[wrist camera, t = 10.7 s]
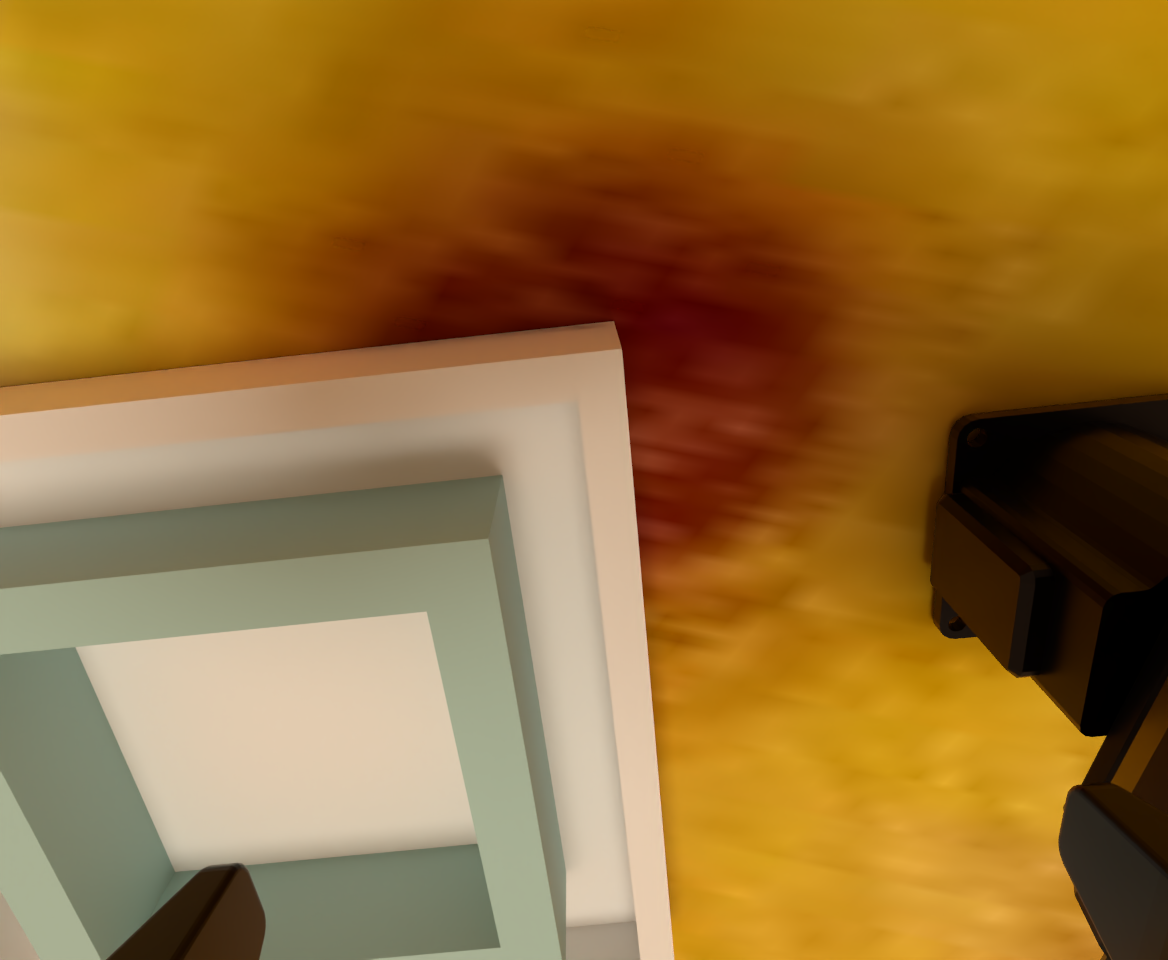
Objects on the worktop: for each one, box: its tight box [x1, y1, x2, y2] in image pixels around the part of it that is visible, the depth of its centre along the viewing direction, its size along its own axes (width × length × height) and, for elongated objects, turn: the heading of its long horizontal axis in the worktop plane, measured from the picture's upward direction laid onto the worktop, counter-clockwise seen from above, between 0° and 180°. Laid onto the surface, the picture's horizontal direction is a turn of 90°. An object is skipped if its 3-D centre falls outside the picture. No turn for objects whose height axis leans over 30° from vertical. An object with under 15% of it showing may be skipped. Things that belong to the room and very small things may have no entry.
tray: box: [0, 321, 674, 960], centre depth 21 cm, size 21×21×3 cm
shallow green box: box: [0, 475, 566, 960], centre depth 20 cm, size 14×14×4 cm
